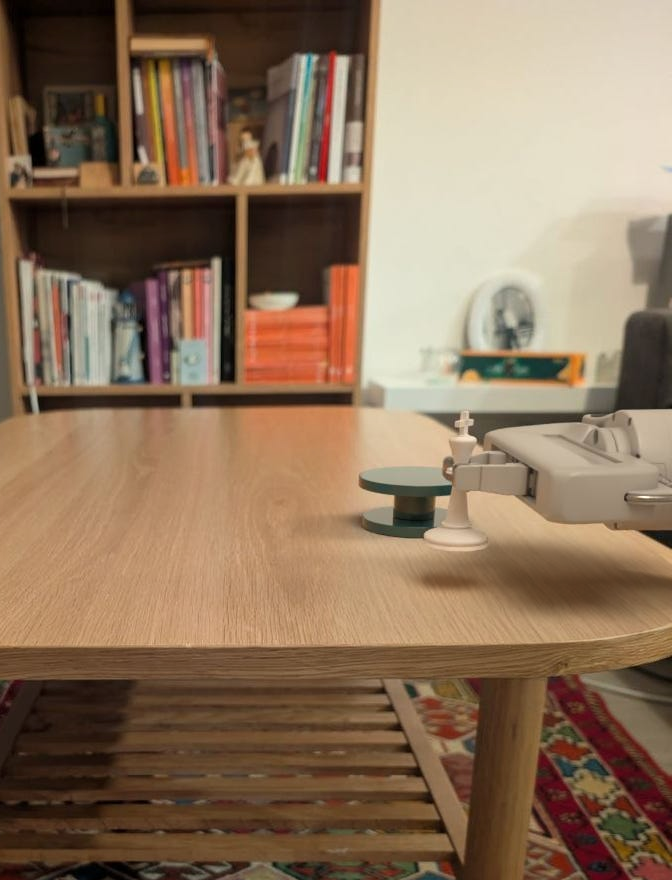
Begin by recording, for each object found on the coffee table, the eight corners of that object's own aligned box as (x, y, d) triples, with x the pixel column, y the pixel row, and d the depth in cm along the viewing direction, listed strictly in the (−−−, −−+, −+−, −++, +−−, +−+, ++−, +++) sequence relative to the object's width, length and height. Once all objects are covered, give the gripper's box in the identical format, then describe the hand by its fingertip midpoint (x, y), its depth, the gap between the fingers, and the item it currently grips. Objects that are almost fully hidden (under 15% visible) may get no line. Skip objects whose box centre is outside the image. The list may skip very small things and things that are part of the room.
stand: (465, 515, 98) (468, 466, 96) (476, 540, 87) (481, 486, 86) (357, 513, 100) (359, 465, 98) (356, 537, 89) (358, 485, 88)
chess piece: (409, 544, 73) (416, 411, 70) (447, 533, 76) (456, 406, 73) (463, 556, 69) (474, 417, 66) (501, 544, 72) (513, 410, 69)
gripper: (693, 546, 61) (476, 548, 62) (586, 487, 81) (422, 488, 81) (708, 448, 59) (484, 451, 60) (595, 411, 78) (427, 414, 79)
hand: (448, 472), depth 71 cm, fingers closed on chess piece
